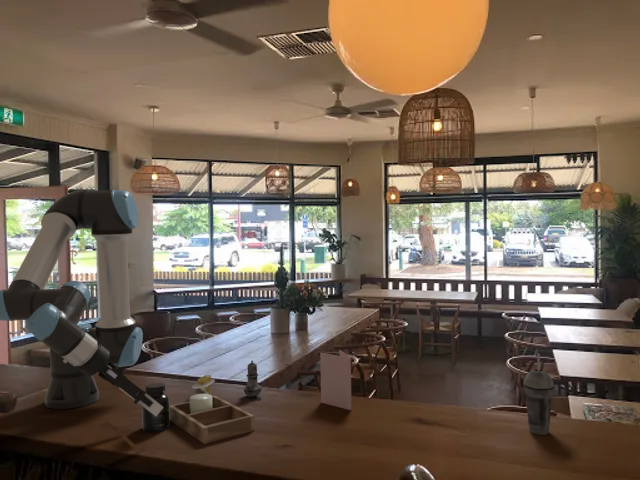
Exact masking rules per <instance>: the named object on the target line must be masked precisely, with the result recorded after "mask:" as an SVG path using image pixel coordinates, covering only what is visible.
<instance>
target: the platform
mask: <svg viewBox="0 0 640 480" xmlns="http://www.w3.org/2000/svg"><path fill="white" fill-rule="evenodd" d="M214 382H215V379H214V378H212V375H211V374H205V375H204V376H202V377H200V378H198V379H197V383H195V384H193V385H192V386H191V389H195V395H196V394H210V395H211V384H213V383H214Z"/></svg>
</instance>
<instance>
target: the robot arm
mask: <svg viewBox="0 0 640 480" xmlns="http://www.w3.org/2000/svg"><path fill="white" fill-rule="evenodd" d="M138 211H139V210H138V205H137V203H136V200H135V198H134V196H133V195H132V194H131V192H129V191H128V190H124V189H105V190H104V189H102V190H99V189H98V190H97V189H96V190H95V189H94V190H89V189H88V190H83V189H82V190H76V191H75V190H74V191H72V192H69V193H67V194H65V195H63V196H62V197H60V198H58V199H57V200H56V201H55V202H54V203H52V205H50V206H49V207H48V209H47V210H46V211H45V213H44V214H43V216H42V218H41V220H40V226H41V228H40V229H39V232H38V234H37V235H36V237H35V238H34V240H33V241H32V242H33V243H32V245H31V246H30V247H29V250H28V251H27V254H26V255H25V257H24V259H23V261H22V263H21V265H20V267H19V268H18V270H17V272H16V274H15V276H14V277H13V279H12V281H11V283H10V284H9V286H8V287H7V289H0V321H6V322H7V321H8V322H14V321H26V323H25V329H26V330H27V331H28V332H29V333H31V334H32V336H34V337H35V339H36V340H38V341H40V342H41V343H43V345H45V346H47V347H48V348H49V357H50V358H49V359H50V363H49V364H50V381H49V384H48V387H47V390H46V394H45V396H44V406H45V407H46V408H49V409H54V410H64V409H75V408H81V407H85V406H88V405H91V404H93V403H95V402H97V401H99V398H100V391H99V388H98V385H97V384H96V380H95V378H94V375H96V374H97V376H99V377H100V378H101V379H103V380H104V381H106V382H109V384H110V385H112V386H114V387H116V388H118V389H119V390H120V391H121V392H123V393H124V394H125V395H126V396H128V397H129V398H130V399H132V400H133V403H134V404H135V405H137V404H139V405H141V407H142V406H143V407H144V408H146V409H147V410H148V411H149V412H151V413H152V414H153V415H155V416H157V415H158V414H159V412H160V411H161V410H162V409H163V406H161V405H160V404H159V403H158V402H156V401H155V400H154V399H153V398H151V397H150V396H149V395H148V394H146V393H145V391H146V390H143V389H141V388H140V387H138V385H136V384H135V383H134V382H132V381H131V380H130V379H128V377H127V376H125V373H123V372H122V371H120V370H119V369H118V368H122V367H128V366H129V367H130V366H133V365H135V364H136V362H138V360H139V357H140V356H141V351H142V347H143V340H144V339H143V337H144V334H143V330H142V328H141V327H138V326H137V325H136V320H135V319H134V318H133V317H132V316H131V309H130V308H131V307H130V303H131V302H130V301H131V300H130V281H129V280H130V278H129V275H130V274H129V255H128V251H129V250H128V249H129V248H128V240H129V238H130V237H131V236H132V235H133V230H134V229H136V228H137V226H138V224H139V221H138V220H139V212H138ZM81 229H82V230H90V231H91V235H90V236H92V237H93V238H94V239H95V240H96V244H97V246H96V247H97V248H96V249H97V268H98V291H99V315H100V317H99V318H100V319H99V320H98V321H97V322H96V323H95V324H94V325H95V328H92V325H91V323H79V322H80V320H81V317H82V316H83V314H84V312H85V311H86V309H87V308H88V305H89V302H90V299H91V296H92V295H91V291H90V288H89V287H88V286H87V285H86V284H85V283H83V282H81V281H78V280H69V281H67V282H65V283H64V284H63V285H62V286H60V288H52V289H51V288H48V289H47V288H45V287H46V285H47V283H48V280H49V278H50V277H51V275H52V272H53V270H54V268H55V267H56V265H57V262H58V260H59V258H60V256H61V254H62V252H63V249H64V248H65V246H66V244H67V241H68V239H69V238H72V237H73V236H75V234H76V231H79V230H81ZM78 323H79V324H78Z"/></svg>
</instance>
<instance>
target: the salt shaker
mask: <svg viewBox="0 0 640 480" xmlns="http://www.w3.org/2000/svg"><path fill="white" fill-rule="evenodd" d="M246 377H247V383H246V385H244V386H243V387H242V390H243V392H244V394H245V395H246V396H247V397H248V398H249V399H252V400H255V401H257V402H259V401H261V400H262V397H261V396H260V394H261V392H262V389H263V386H262V385H260V384H259V382H258V377H259V374H258V366H257V364H256V363H254V360H251V362H250V363H248V364H247V374H246Z"/></svg>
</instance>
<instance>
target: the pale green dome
mask: <svg viewBox="0 0 640 480" xmlns="http://www.w3.org/2000/svg"><path fill="white" fill-rule="evenodd" d="M212 396H213V395H212V394H211V393H210V394H196V393H195V394H193V395H191V396H190V397H189V401H190V414H192V413H196V412H201V411H205V410H209V409H213V407H212Z"/></svg>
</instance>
